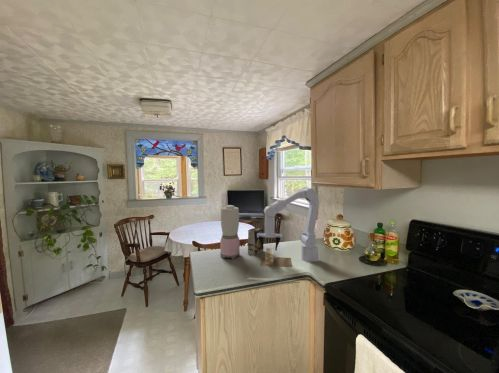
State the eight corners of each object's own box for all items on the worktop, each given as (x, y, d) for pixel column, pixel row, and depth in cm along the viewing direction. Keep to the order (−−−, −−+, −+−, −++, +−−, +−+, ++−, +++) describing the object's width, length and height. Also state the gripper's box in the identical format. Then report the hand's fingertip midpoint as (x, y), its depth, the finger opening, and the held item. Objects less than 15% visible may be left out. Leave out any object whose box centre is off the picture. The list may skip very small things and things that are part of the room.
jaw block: (273, 258, 134) (273, 248, 133) (273, 264, 125) (273, 254, 124) (265, 257, 134) (265, 248, 134) (265, 264, 125) (265, 253, 125)
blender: (237, 260, 133) (237, 207, 131) (218, 259, 135) (217, 207, 132) (241, 250, 149) (241, 203, 146) (223, 249, 150) (223, 203, 148)
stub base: (290, 259, 135) (290, 253, 134) (292, 268, 122) (292, 261, 121) (261, 258, 136) (261, 251, 136) (260, 267, 124) (260, 260, 123)
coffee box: (255, 256, 139) (255, 231, 138) (247, 254, 143) (247, 229, 141) (263, 252, 146) (263, 228, 145) (255, 250, 150) (255, 226, 149)
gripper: (256, 228, 125) (256, 251, 126) (282, 229, 123) (282, 252, 124) (257, 225, 132) (257, 247, 133) (281, 225, 130) (281, 248, 131)
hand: (269, 249), depth 129 cm, fingers open, 7 cm apart
